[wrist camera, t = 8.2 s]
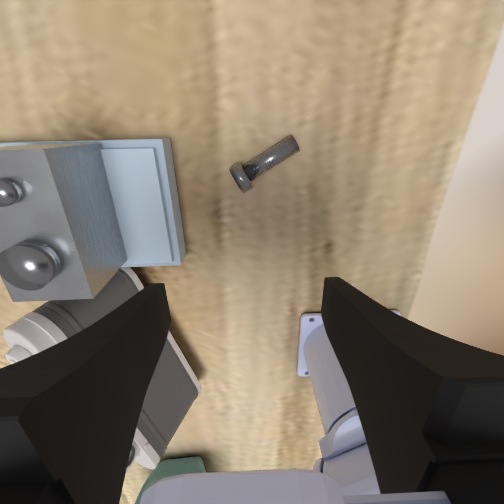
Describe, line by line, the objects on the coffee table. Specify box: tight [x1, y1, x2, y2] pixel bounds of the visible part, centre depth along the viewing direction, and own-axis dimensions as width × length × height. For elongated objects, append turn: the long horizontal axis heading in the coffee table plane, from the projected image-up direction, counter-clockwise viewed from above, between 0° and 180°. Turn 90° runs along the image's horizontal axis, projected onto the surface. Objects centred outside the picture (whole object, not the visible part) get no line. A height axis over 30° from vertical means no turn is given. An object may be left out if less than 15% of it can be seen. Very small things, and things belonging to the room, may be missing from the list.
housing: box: [0, 143, 128, 302], centre depth 15 cm, size 4×8×6 cm, turn 1°
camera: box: [3, 267, 201, 472], centre depth 22 cm, size 9×16×10 cm, turn 20°
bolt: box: [229, 135, 300, 193], centre depth 19 cm, size 5×2×2 cm, turn 121°
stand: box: [0, 138, 186, 267], centre depth 19 cm, size 12×9×2 cm
